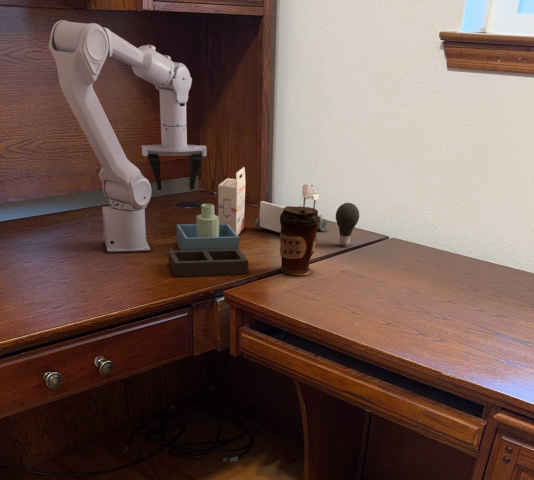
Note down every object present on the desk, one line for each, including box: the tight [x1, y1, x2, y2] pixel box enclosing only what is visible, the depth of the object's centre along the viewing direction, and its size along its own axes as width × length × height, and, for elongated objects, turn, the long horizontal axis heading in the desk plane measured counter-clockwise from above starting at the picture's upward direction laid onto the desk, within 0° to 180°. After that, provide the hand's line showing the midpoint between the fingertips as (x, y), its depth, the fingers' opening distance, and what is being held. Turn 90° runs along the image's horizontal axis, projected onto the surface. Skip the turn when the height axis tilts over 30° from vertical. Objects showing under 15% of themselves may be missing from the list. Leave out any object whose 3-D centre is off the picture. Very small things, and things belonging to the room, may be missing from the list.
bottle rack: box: [167, 248, 249, 277], centre depth 142 cm, size 16×8×3 cm, turn 106°
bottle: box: [195, 203, 219, 238], centre depth 151 cm, size 5×5×10 cm
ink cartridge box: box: [217, 166, 246, 236], centre depth 163 cm, size 9×5×15 cm, turn 168°
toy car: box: [254, 184, 328, 233], centre depth 169 cm, size 18×10×12 cm
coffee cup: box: [279, 205, 320, 276], centre depth 141 cm, size 9×8×13 cm
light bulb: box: [335, 202, 360, 248], centre depth 160 cm, size 6×6×10 cm
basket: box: [176, 223, 240, 251], centre depth 152 cm, size 12×11×4 cm
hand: (175, 189), depth 157 cm, fingers open, 7 cm apart
